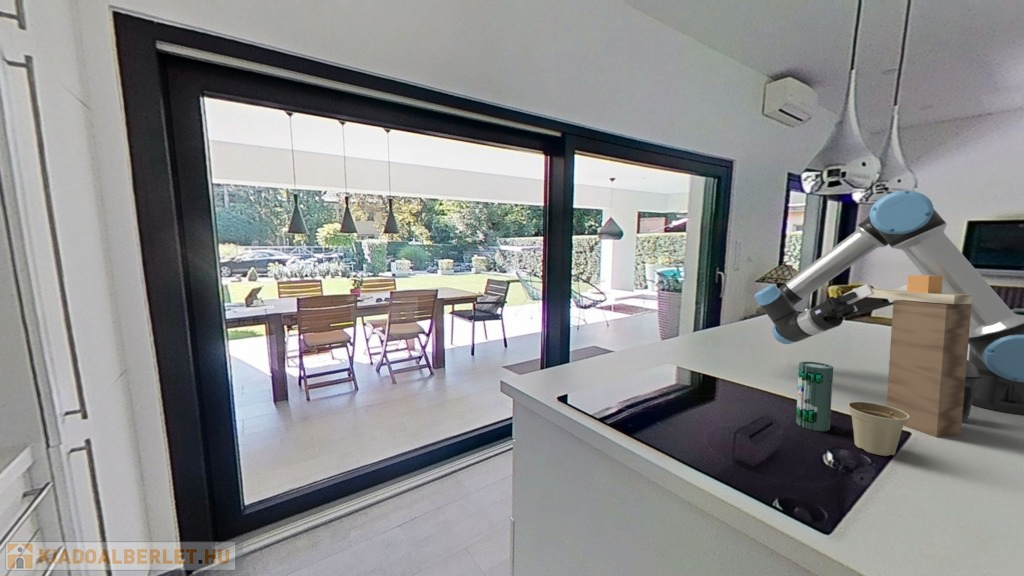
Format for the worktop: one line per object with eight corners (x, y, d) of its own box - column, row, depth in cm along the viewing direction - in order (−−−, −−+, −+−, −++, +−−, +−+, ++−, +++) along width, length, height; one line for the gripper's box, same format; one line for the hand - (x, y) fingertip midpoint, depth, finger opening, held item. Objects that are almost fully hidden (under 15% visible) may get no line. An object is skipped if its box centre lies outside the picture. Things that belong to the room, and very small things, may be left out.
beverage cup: (943, 422, 92) (949, 342, 91) (924, 411, 99) (930, 336, 97) (984, 427, 89) (992, 344, 88) (962, 415, 96) (968, 338, 95)
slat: (867, 295, 103) (867, 288, 103) (971, 303, 83) (972, 294, 83) (852, 295, 103) (852, 288, 102) (953, 304, 82) (954, 295, 82)
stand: (908, 416, 96) (916, 299, 93) (960, 434, 86) (971, 304, 84) (885, 418, 94) (893, 300, 92) (936, 437, 85) (946, 305, 82)
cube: (920, 291, 91) (921, 275, 91) (941, 292, 87) (942, 275, 87) (907, 291, 91) (908, 275, 90) (927, 293, 87) (929, 276, 86)
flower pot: (920, 463, 74) (923, 420, 73) (864, 458, 76) (867, 417, 75) (883, 440, 83) (886, 402, 82) (834, 437, 85) (836, 400, 84)
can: (792, 419, 95) (795, 360, 94) (820, 421, 93) (824, 362, 92) (803, 429, 89) (807, 367, 88) (834, 432, 87) (838, 369, 86)
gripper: (779, 308, 114) (844, 275, 95) (848, 306, 118) (923, 274, 99) (789, 331, 111) (858, 302, 92) (860, 328, 115) (940, 300, 96)
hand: (892, 288), depth 95 cm, fingers open, 13 cm apart
